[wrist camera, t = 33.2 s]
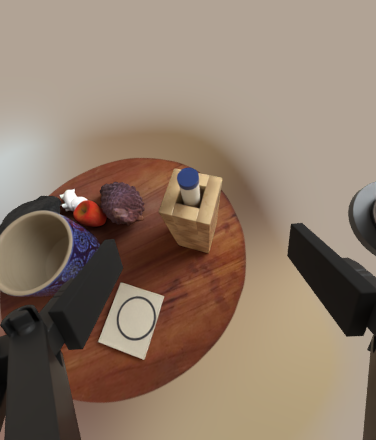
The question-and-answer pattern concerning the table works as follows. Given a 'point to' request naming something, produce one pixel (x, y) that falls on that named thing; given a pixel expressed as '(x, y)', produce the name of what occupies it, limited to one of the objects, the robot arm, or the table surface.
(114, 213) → the pine cone
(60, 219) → the planter
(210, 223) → the pen block
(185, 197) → the marker
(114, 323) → the drawing board
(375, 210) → the robot arm
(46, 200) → the rock
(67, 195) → the toy creature
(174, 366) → the table surface
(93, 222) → the apple
